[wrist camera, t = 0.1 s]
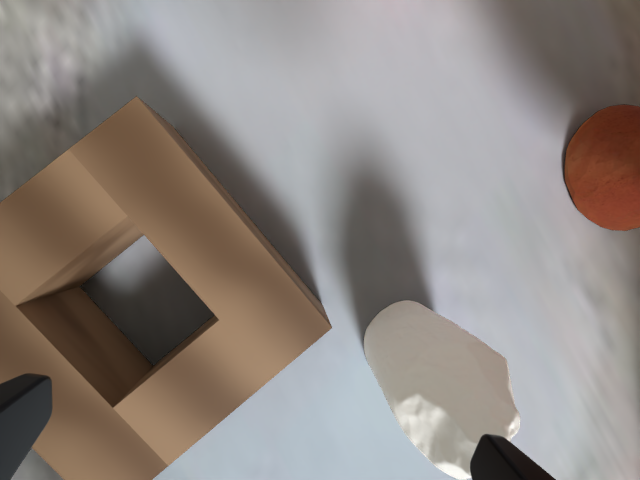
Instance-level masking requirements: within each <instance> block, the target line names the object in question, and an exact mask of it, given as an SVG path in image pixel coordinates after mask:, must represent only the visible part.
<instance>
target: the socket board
mask: <svg viewBox="0 0 640 480" xmlns="http://www.w3.org/2000/svg"><path fill="white" fill-rule="evenodd" d="M143 235H145V236H146V237H147V239H148V240H149V241H150V242H151V243H152V244H153V245H154V247H155V248H156V249H157V250H158V251H159V252H160V253H161V254H162V256H163V257H164V258H165V259H166V260H167V261H168V262H169V263H170V265H171V266H172V267H173V268H174V269H175V270H176V271H177V273H178V274H179V275H180V276H181V277H182V278H183V279H184V280H185V282H186V283H187V284H188V285H189V286H190V287H191V288H192V290H193V291H194V292H195V293H196V294H197V295H198V296H199V297H200V299H201V300H202V301H203V302H204V303H205V304H206V305H207V306H208V308H209V309H210V310H211V311H212V312H213V313H214V314H215V315H214V316H213V317H212V318H211V319H209V320H208V321H207V322H206V323H204V324H203V325H202V326H201V327H200V328H198V329H197V330H196V331H195V332H194V333H192V334H191V335H190V336H189V337H187V338H186V339H185V340H184V341H183V342H181V343H180V344H179V345H178V346H177V347H175V348H174V349H173V350H172V351H171V352H169V353H168V354H167V355H166V356H164V357H163V358H162V359H161V360H160V361H158V362H157V363H156V364H155V365H154V366H152V364H151V363H150V362H149V361H148V360H147V359H146V358H145V357H144V356H143V355H142V354H141V353H140V351H139V350H138V349H137V348H136V347H135V346H134V345H133V344H132V343H131V342H130V341H129V340H128V339H127V337H126V336H125V335H124V334H123V333H122V332H121V331H120V330H119V329H118V328H117V327H116V326H115V324H114V323H113V322H112V321H111V320H110V319H109V318H108V317H107V316H106V315H105V314H104V313H103V312H102V310H101V309H100V308H99V307H98V306H97V305H96V304H95V303H94V302H93V301H92V300H91V299H90V297H89V296H88V295H87V294H86V293H85V292H84V291H83V290H82V289H81V288H80V287H79V286H81V285H82V284H83V283H84V282H86V281H87V280H88V279H89V278H91V277H92V276H93V275H94V274H96V273H97V272H98V271H99V270H101V269H102V268H103V267H104V266H106V265H107V264H108V263H109V262H111V261H112V260H113V259H114V258H116V257H117V256H118V255H119V254H121V253H122V252H123V251H124V250H126V249H127V248H128V247H129V246H130V245H132V244H133V243H134V242H135V241H137V240H138V239H139V238H140V237H142V236H143ZM331 328H332V326H331V324H330V322H329V319H328V317H327V315H326V312H325V310H324V307H323V305H322V304H321V303H320V301H319V300H318V299H317V298H316V297H315V295H314V294H313V293H312V292H311V291H310V290H309V288H308V287H307V286H306V285H305V284H304V282H303V281H302V280H301V279H300V278H299V276H298V275H297V274H296V273H295V272H294V270H293V269H292V268H291V267H290V266H289V265H288V263H287V262H286V261H285V260H284V259H283V257H282V256H281V255H280V254H279V253H278V251H277V250H276V249H275V248H274V247H273V245H272V244H271V243H270V242H269V241H268V239H267V238H266V237H265V236H264V235H263V234H262V232H261V231H260V230H259V229H258V228H257V226H256V225H255V224H254V223H253V222H252V220H251V219H250V218H249V217H248V216H247V214H246V213H245V212H244V211H243V210H242V209H241V207H240V206H239V205H238V204H237V203H236V201H235V200H234V199H233V198H232V197H231V195H230V194H229V193H228V192H227V191H226V189H225V188H224V187H223V186H222V185H221V184H220V182H219V181H218V180H217V179H216V178H215V176H214V175H213V174H212V173H211V172H210V170H209V169H208V168H207V167H206V166H205V164H204V163H203V162H202V161H201V160H200V158H199V157H198V156H197V155H196V154H195V153H194V151H193V150H192V149H191V148H190V147H189V145H188V144H187V143H186V142H185V141H184V139H183V138H182V137H181V136H180V135H179V133H178V132H177V131H176V130H175V129H174V128H173V126H172V125H170V124H169V123H168V122H167V121H166V120H164V119H163V118H162V117H161V116H160V115H159V114H157V113H156V112H155V111H154V110H153V109H151V108H150V107H149V106H148V105H147V104H146V103H144V102H143V101H142V100H141V99H140V98H138V97H137V96H136V97H135V98H134V99H132V100H131V101H130V102H129V103H127V104H126V105H125V106H123V107H122V108H121V109H120V110H118V111H117V112H116V113H114V114H113V115H112V116H111V117H109V118H108V119H107V120H105V121H104V122H103V123H102V124H100V125H99V126H98V127H96V128H95V129H94V130H93V131H91V132H90V133H89V134H88V135H86V136H85V137H84V138H82V139H81V140H80V141H79V142H77V143H76V144H75V145H73V146H72V147H71V148H70V149H68V150H67V151H66V152H64V153H63V154H62V155H61V156H59V157H58V158H57V159H55V160H54V161H53V162H52V163H50V164H49V165H48V166H47V167H45V168H44V169H43V170H41V171H40V172H39V173H38V174H36V175H35V176H34V177H32V178H31V179H30V180H29V181H27V182H26V183H25V184H23V185H22V186H21V187H20V188H18V189H17V190H16V191H14V192H13V193H12V194H11V195H9V196H8V197H7V198H5V199H4V200H3V201H2V202H0V384H1V383H3V382H6V381H8V380H10V379H13V378H15V377H17V376H20V375H22V374H26V373H33V374H40V375H47V376H49V377H50V378H51V380H52V404H53V409H52V414H51V417H50V419H49V421H48V423H47V425H46V426H45V428H44V429H43V431H42V432H41V434H40V435H39V437H38V438H37V440H36V441H35V443H34V444H33V446H32V448H33V449H34V450H35V451H36V452H37V453H38V454H39V455H40V456H41V457H42V458H43V459H44V460H45V461H46V462H47V463H48V464H49V465H50V466H51V467H52V468H53V469H54V470H55V471H56V472H57V473H58V474H59V475H60V476H61V477H62V478H63V479H64V480H152V479H153V478H154V477H156V476H157V475H158V474H159V473H160V472H162V471H163V470H164V469H165V468H166V467H168V466H169V465H170V464H171V463H172V462H173V461H175V460H176V459H177V458H178V457H179V456H181V455H182V454H183V453H184V452H185V451H187V450H188V449H189V448H190V447H191V446H192V445H194V444H195V443H196V442H197V441H198V440H200V439H201V438H202V437H203V436H204V435H205V434H207V433H208V432H209V431H210V430H211V429H213V428H214V427H215V426H216V425H217V424H219V423H220V422H221V421H222V420H223V419H224V418H226V417H227V416H228V415H229V414H230V413H232V412H233V411H234V410H235V409H236V408H238V407H239V406H240V405H241V404H242V403H243V402H245V401H246V400H247V399H248V398H249V397H251V396H252V395H253V394H254V393H255V392H257V391H258V390H259V389H260V388H261V387H262V386H264V385H265V384H266V383H267V382H268V381H270V380H271V379H272V378H273V377H274V376H275V375H277V374H278V373H279V372H280V371H281V370H283V369H284V368H285V367H286V366H287V365H289V364H290V363H291V362H292V361H293V360H294V359H296V358H297V357H298V356H299V355H300V354H302V353H303V352H304V351H305V350H306V349H308V348H309V347H310V346H311V345H312V344H313V343H315V342H316V341H317V340H318V339H319V338H321V337H322V336H323V335H324V334H325V333H326V332H328V331H329V330H330V329H331Z"/></svg>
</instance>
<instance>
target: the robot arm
mask: <svg viewBox="0 0 640 480" xmlns="http://www.w3.org/2000/svg"><path fill="white" fill-rule="evenodd" d="M52 409H53V404H52V380H51V378H50V377H49V376H47V375H40V374H33V373H26V374H22V375H20V376H17V377H15V378H13V379H10V380H8V381H6V382H3V383H1V384H0V480H11V478H12V476H13V475H14V473H15V472H16V470H17V469H18V467H19V466H20V464H21V463H22V461H23V460H24V458H25V457H26V455H27V454H28V452H29V451H30V449H31V448H32V446H33V444H34V443H35V441H36V440H37V438H38V437H39V435H40V434H41V432H42V431H43V429H44V428H45V426H46V425H47V423H48V421H49V419H50V417H51V414H52ZM470 473H471V477H472V480H556V479H554V478H553V477H552V476H551V475H550V474H548V473H547V472H546V471H545V470H544V469H542V468H541V467H540V466H539V465H537V464H536V463H535V462H534V461H533V460H531V459H530V458H529V457H528V456H527V455H525V454H524V453H523V452H522V451H520V450H519V449H518V448H517V447H516V446H514V445H513V444H512V443H511V442H509V441H508V440H507V439H506V438H504V437H503V436H500V435H493V434H484V435H482V436H481V438H480V440H479V442H478V444H477V447H476V449H475V451H474V454H473V456H472V458H471V461H470Z"/></svg>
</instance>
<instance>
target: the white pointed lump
mask: <svg viewBox="0 0 640 480" xmlns="http://www.w3.org/2000/svg"><path fill="white" fill-rule="evenodd" d="M364 352H365V356H366V360H367V362H368V364H369V366H370V368H371V370H372V372H373V374H374V375H375V378H376V379H377V382H378V383H379V385H380V387H381V389H382V391H383V393H384V396H385V398H386V400H387V402H388V404H389V406H390V408H391V410H392V412H393V414H394V416H395V418H396V420H397V422H398V423H399V425H400V427H401V428H402V430H403V431H404V433H405V434H406V436H407V437H408V438H409V439H410V441H411V442H412V443H413V444H414V445H415V446H416V447H417V448H418V449H419V450H420V451H421V453H422V454H423V455H424V456H425V457H427V458H428V459H429V460H430V462H432V463H433V464H434V465H435V466H436V467H437V468H439V469H440V470H441V471H443V472H445V473H446V474H448V475H450V476H452V477H454V478H457V479H464V480H465V479H467V478H470V477H471V473H470V461H471V458H472V456H473V454H474V451H475V449H476V447H477V444H478V442H479V440H480V438H481V436H482V435H484V434H493V435H500V436H503V437H504V438H506V439H507V440H508V441H509V442H511V438H512V437H513V436H514V435H515V434H516V433H517V431H518V430H519V428H520V415H519V412H518V410H517V409H516V407H515V404H514V396H513V391H512V385H511V380H510V374H509V368H508V363H507V361H506V359H505V358H504V357H503V356H502V355H501V354H499V353H498V352H496V351H494V350H493V349H492V348H490V347H489V346H488V345H486V344H485V343H484V342H482V341H481V340H479V339H478V338H477V337H475V336H474V335H472V334H470V333H469V332H467V331H466V330H464V329H462V328H461V327H459V326H458V325H457V324H455V323H454V322H452V321H450V320H448V319H446V318H444V317H442V316H441V315H439V314H437V313H435V312H434V311H432V310H430V309H428V308H427V307H425V306H424V305H422V304H420V303H418V302H415V301H409V300H404V301H399V302H396V303H393V304H391V305H389V306H388V307H387V308H385V309H383V310H382V311H380V312H379V313H378V314H377V315H376V316H375V318H374V319H373V320H372V321H371V323H370V324H369V326H368V327H367V329H366V332H365V336H364Z"/></svg>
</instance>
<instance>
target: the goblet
mask: <svg viewBox="0 0 640 480" xmlns="http://www.w3.org/2000/svg"><path fill="white" fill-rule="evenodd" d="M564 169H565V182H566V185H567V187H568V190H569V192H570V194H571V197H572V199H573V201H574V203H575V205H576V207H577V209H578V211H580V212H581V213H582V214H583V215H584V216H585V217H586V218H588V219H589V220H591V221H592V222H594V223H595V224H597V225H599V226H600V227H603V228H607V229H610V230H622V231H627V230H630V229H634V228H638V227H640V107H639V106H633V105H625V104H624V105H616V106H609V107H607V108H605V109H602V110H600V111H598V112H596V113H595V114H594V115H593V116H591V117H590V118H589V119H588V120H587V121H585V122H584V123H583V124H582V125H581V127H580V128H579V129H578V130H577V132H576V133H575V135H574V136H573V138H572V139H571V141H570V142H569V145H568V147H567V150H566V159H565V168H564Z"/></svg>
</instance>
